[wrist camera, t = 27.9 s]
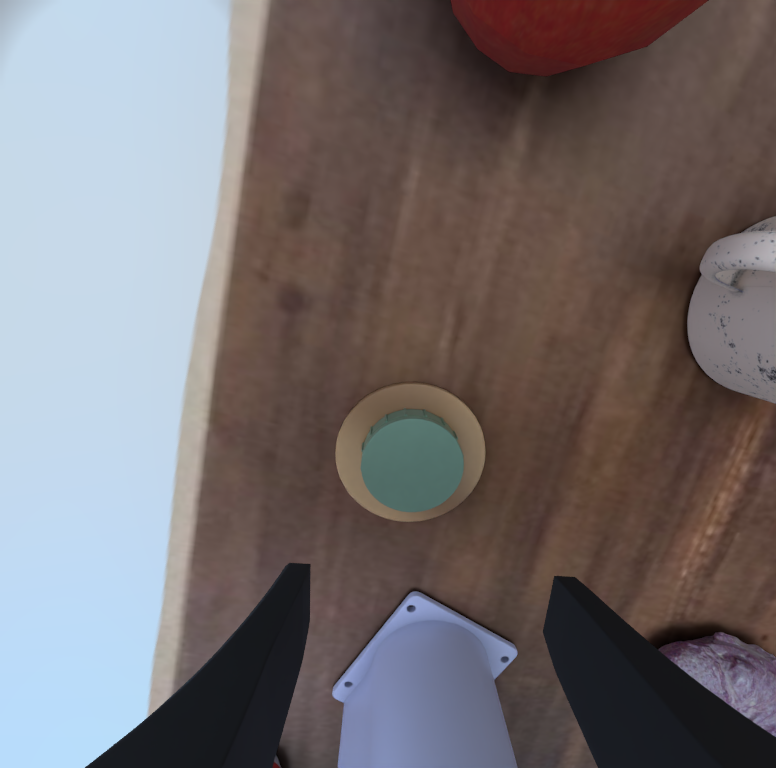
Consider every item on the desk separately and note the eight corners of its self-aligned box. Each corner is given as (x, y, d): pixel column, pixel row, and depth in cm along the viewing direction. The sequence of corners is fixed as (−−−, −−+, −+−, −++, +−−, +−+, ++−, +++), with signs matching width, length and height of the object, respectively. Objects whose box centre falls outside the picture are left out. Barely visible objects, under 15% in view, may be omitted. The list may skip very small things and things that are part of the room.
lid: (464, 410, 20) (470, 420, 18) (453, 499, 21) (458, 515, 20) (364, 405, 20) (362, 414, 18) (359, 495, 21) (357, 510, 20)
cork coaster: (428, 541, 22) (428, 545, 22) (308, 472, 21) (307, 475, 21) (513, 433, 21) (516, 436, 20) (389, 352, 19) (389, 353, 19)
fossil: (733, 771, 27) (810, 883, 22) (598, 669, 25) (650, 768, 20) (835, 707, 25) (944, 812, 20) (701, 591, 23) (787, 677, 18)
